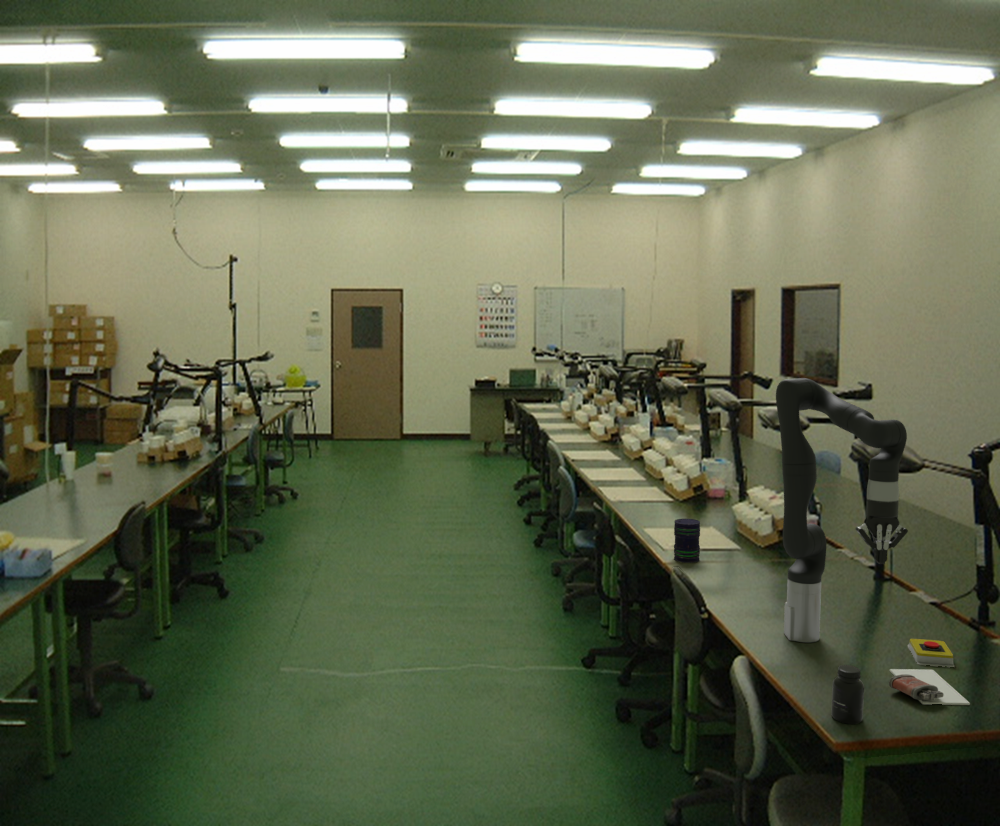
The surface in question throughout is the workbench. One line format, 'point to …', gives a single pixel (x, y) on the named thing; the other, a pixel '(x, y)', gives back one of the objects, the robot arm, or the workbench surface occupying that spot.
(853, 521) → the workbench surface
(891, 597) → the workbench surface
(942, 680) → the mat
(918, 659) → the emergency button
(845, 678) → the supplement bottle
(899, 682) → the lighter
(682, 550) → the storage jar
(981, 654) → the workbench surface
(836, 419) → the robot arm
